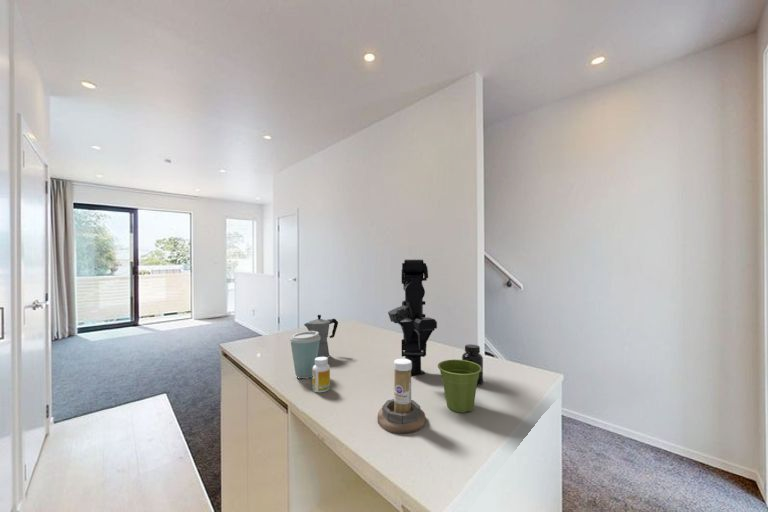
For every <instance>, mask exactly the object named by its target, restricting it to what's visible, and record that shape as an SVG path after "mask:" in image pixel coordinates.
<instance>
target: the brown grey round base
mask: <svg viewBox="0 0 768 512" xmlns="http://www.w3.org/2000/svg"><path fill="white" fill-rule="evenodd" d="M377 424H378V426H380V427H381V428H382V429H383V430H384V431H387V432H390V433H392V434H399V435H400V434H401V435H402V434H412V433H415V432H419V431H420V430H421V429H422V428H424V427H425V424H426V413H425V412H424V410H423V409H421V405H419V404H418V403H417V402H416V401H415V400H413V399H411V412H408V413H404V414H401V413H396V412H394V398H393V399H388V400H386V402H384V404H383V405H382V407H381V408H380V409H379V410H378V412H377Z"/></svg>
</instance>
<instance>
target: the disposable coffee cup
mask: <svg viewBox="0 0 768 512" xmlns="http://www.w3.org/2000/svg"><path fill="white" fill-rule="evenodd" d="M320 339H321V338H320V336H319V332H317V331H309V330H307V331H301V332H297V333H294V334H292V336H290V337H289V342H290V346H291V347H290V348H291V353H292V360H293V366H294V373H295V376H297V377H299V378H298V379H300V378H306V379H310V378H309V377H311V378H313V377H312V376H313V366H314V365H316V364H315V358H317V357H318V349H319V342H320ZM297 377H296V378H297Z"/></svg>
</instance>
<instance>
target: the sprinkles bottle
mask: <svg viewBox="0 0 768 512" xmlns="http://www.w3.org/2000/svg"><path fill="white" fill-rule="evenodd" d="M411 369H412V362H411V361H410V360H408V359H405V358H396V359H395V360H394V361H393V370H394V383H393V385H394V386H393V387H394V388H393V399H394V412H396V413H401V414H404V413H408V412H411V400H412V375H411Z"/></svg>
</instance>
